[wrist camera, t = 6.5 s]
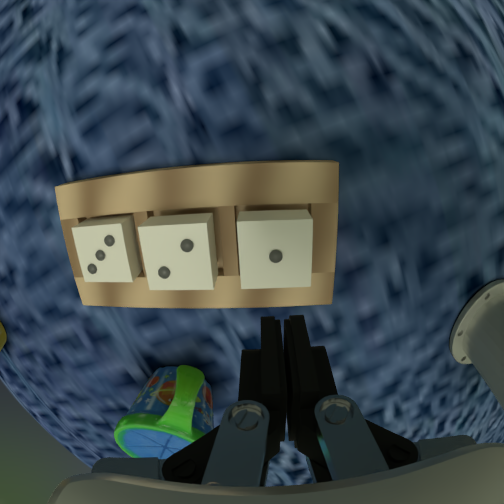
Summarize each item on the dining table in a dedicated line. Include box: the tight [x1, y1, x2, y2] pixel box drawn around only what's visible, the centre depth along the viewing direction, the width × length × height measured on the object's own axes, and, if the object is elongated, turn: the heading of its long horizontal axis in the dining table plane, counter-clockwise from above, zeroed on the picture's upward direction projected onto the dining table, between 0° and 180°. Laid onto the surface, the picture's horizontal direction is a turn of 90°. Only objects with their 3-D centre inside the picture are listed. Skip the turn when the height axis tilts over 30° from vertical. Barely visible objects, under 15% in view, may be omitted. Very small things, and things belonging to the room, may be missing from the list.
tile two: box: [138, 213, 218, 290], centre depth 22 cm, size 5×5×3 cm
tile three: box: [72, 214, 143, 282], centre depth 23 cm, size 5×5×3 cm
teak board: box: [55, 160, 339, 308], centre depth 24 cm, size 24×12×2 cm, turn 93°
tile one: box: [237, 209, 313, 289], centre depth 21 cm, size 5×5×3 cm
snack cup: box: [114, 365, 214, 459], centre depth 27 cm, size 16×10×10 cm
